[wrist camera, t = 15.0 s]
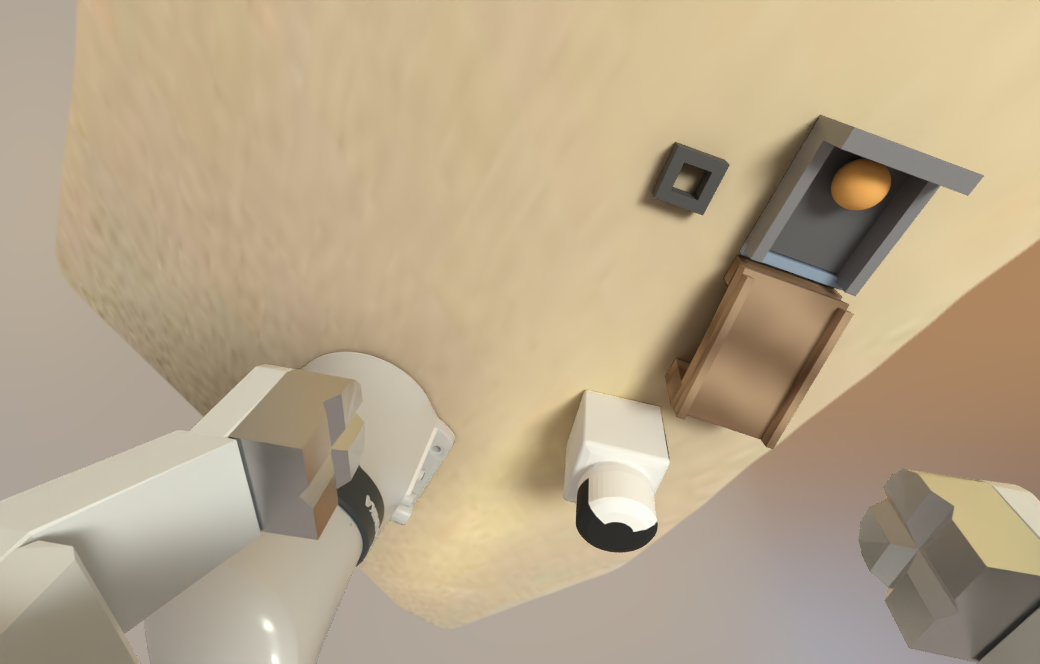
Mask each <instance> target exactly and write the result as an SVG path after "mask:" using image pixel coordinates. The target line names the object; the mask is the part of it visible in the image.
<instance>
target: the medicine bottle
mask: <svg viewBox="0 0 1040 664" xmlns="http://www.w3.org/2000/svg"><path fill="white" fill-rule="evenodd" d="M669 464H670V459H669V453H668V447H667V441H666V435H665V430H664V424H663V418H662V412H661V409H660V407H659V406H655V405H651V404H647V403H642V402H638V401H634V400H629V399H625V398H621V397H617V396H612V395H608V394H604V393H599V392H595V391H591V390H585V391H584V393H583V396H582V399H581V402H580V406H579V409H578V412H577V415H576V418H575V421H574V424H573V427H572V430H571V433H570V436H569V439H568V442H567V450H566V464H565V478H564V492H563V498H564V499H565V500H566V501H570V502H574V503H577V507H576V527H577V530H578V532H579V533H580V535H581V536H582V537H583V538H584V539H585V540H586V541H587V542H588V543H590V544H591V545H593V546H594V547H596V548H599V549H601V550H605V551H609V552H629V551H634V550H637V549H639V548H641V547H643V546H645V545H646V544H647V543H648V542H649V541H650V540H651V539H652V538H653V537H654V536H655V534H656V532H657V526H658V524H657V516H656V508H655V500H654V495H655V493H656V491H657V489H658V486H659V484H660V482H661V480H662V478H663V476H664V474H665V472H666V470H667V468H668V466H669Z"/></svg>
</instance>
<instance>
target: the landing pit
mask: <svg viewBox="0 0 1040 664" xmlns="http://www.w3.org/2000/svg"><path fill="white" fill-rule="evenodd" d="M864 158H867V159H870V160H873V161H875V162H878V163H881V164H884V165H885V166H886V167H887V169H888V170H889V172H890V175H891V185H890V189H889V191H888V193H887V195H886V196H885V197H884V198H883V199H882V200H881V201H880V202H879V203H878V204H876V205H875V206H873V207H871V208H868V209H864V210H848V209H845V208H843V207H841V206H840V205H838V204H837V203H836V202H835V200H834V199H833V197H832V193H831V184H832V180H833V178H834V176H835V174H836V173H837V172H838V171H839V169H840V168H842V167H843V166H844V165H846V164H847V163H849V162H851V161H854V160H857V159H864ZM983 177H984V175H981V174H978V173H976V172H973V171H970V170H968V169H965V168H962V167H960V166H957V165H954V164H951V163H949V162H946V161H943V160H941V159H938V158H935V157H933V156H930V155H927V154H925V153H922V152H919V151H917V150H914V149H911V148H908V147H906V146H903V145H900V144H898V143H895V142H892V141H890V140H887V139H884V138H882V137H879V136H876V135H874V134H871V133H868V132H865V131H863V130H860V129H857V128H855V127H852V126H849V125H847V124H844V123H841V122H838V121H836V120H833V119H830V118H828V117H825V116H822V115H820V116H819V118H818V120H817V121H816V123H815V125H814V126H813V128H812V130H811V132H810V133H809V135H808V137H807V138H806V140H805V142H804V143H803V145H802V147H801V148H800V150H799V152H798V153H797V155H796V157H795V158H794V160H793V162H792V164H791V165H790V167H789V169H788V170H787V172H786V174H785V175H784V177H783V179H782V180H781V182H780V184H779V185H778V187H777V189H776V190H775V192H774V194H773V196H772V197H771V199H770V201H769V202H768V204H767V206H766V207H765V209H764V211H763V212H762V214H761V216H760V217H759V219H758V221H757V222H756V224H755V226H754V228H753V229H752V231H751V233H750V234H749V236H748V238H747V239H746V241H745V243H744V244H743V246H742V248H741V249H740V251H739V252H740V253H741V255H743V256H746V257H749V258H750V259H752V260H755V261H758V262H763V263H766V264H769V265H772V266H774V267H777V268H780V269H783V270H786V271H789V272H791V273H794V274H797V275H800V276H803V277H805V278H808V279H811V280H814V281H817V282H820V283H822V284H825V285H828V286H831V287H834V288H836V289H839V290H843V291H844V292H845V293H848V294H851V295H854V296H856V295H857V293H858V292H859V291H860V290H861V288H862V287H863V286H864V284H865V283H866V282H867V280H868V279H869V278H870V277H871V275H872V274H873V273H874V271H875V270H876V269H877V267H878V266H879V265H880V264H881V262H882V261H883V260H884V258H885V257H886V256H887V254H888V253H889V252H890V251H891V249H892V248H893V247H894V245H895V244H896V243H897V242H898V240H899V239H900V238H901V236H902V235H903V234H904V232H905V231H906V230H907V229H908V227H909V226H910V225H911V223H912V222H913V221H914V219H915V218H916V217H917V216H918V214H919V213H920V212H921V210H922V209H923V208H924V206H925V205H926V204H927V203H928V201H929V200H930V199H931V197H932V196H933V195H934V193H935V192H936V191H937V190H938V188H939V187H940V186H943V187H946V188H949V189H951V190H954V191H957V192H959V193H962V194H965V195H967V196H968V195H969V194H970V193H971V191H972V190H973V189H974V188H975V187H976V185H977V184H978V183H979V182H980V180H981V179H982V178H983ZM770 250H771V251H770ZM773 251H774V252H773ZM775 252H776V253H775ZM778 253H779V254H778ZM781 254H782V255H781ZM784 255H785V256H784ZM787 256H788V257H787ZM789 257H791V258H789ZM792 258H793V259H792ZM795 259H796V260H795ZM798 260H799V261H798ZM801 261H802V262H801ZM803 262H805V263H803ZM806 263H807V264H806ZM809 264H810V265H809ZM812 265H813V266H812ZM815 266H816V267H815ZM817 267H819V268H817ZM820 268H821V269H820ZM823 269H824V270H823ZM826 270H827V271H826ZM829 271H830V272H829ZM832 272H833V273H832ZM834 273H835V274H834Z"/></svg>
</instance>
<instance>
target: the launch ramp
mask: <svg viewBox="0 0 1040 664" xmlns="http://www.w3.org/2000/svg"><path fill="white" fill-rule="evenodd" d="M724 279H725V281H726V283H727V285H729V287H728V289H727V291H726V293H725V295H724V297H723V299H722V301H721V303H720V305H719V307H718V309H717V311H716V313H715V315H714V317H713V319H712V321H711V323H710V325H709V327H708V329H707V331H706V333H705V335H704V337H703V339H702V341H701V343H700V345H699V347H698V349H697V351H696V353H695V355H694V357H693V359H692V361H691V363H688V362H685V361H682V360H679V359H675V361H674V362H673V364H672V366H671V367H670V369H669V371H668V372H667V374H666V376H665V377H666V382H667V387H668V392H669V397H670V402H671V405H672V407H673V409H674V412H675V414H676V416H677V417H679V418H682V419H684V418H685V416H686V415H689V416H692V417H695V418H698V419H701V420H704V421H707V422H710V423H713V424H716V425H719V426H722V427H725V428H728V429H731V430H734V431H737V432H740V433H743V434H746V435H749V436H752V437H755V438H758V439H761V441H762V442H763V443H764V445H765V446H766V447H768V448H771V449H773V448H774V447H775V445H776V443H777V442H778V440H779V438H780V437H781V435H782V433H783V432H784V430H785V428H786V427H787V425H788V423H789V422H790V420H791V418H792V417H793V415H794V413H795V412H796V410H797V408H798V407H799V405H800V403H801V401H802V400H803V398H804V396H805V395H806V393H807V391H808V390H809V388H810V386H811V385H812V383H813V381H814V380H815V378H816V376H817V375H818V373H819V371H820V370H821V368H822V366H823V365H824V363H825V361H826V360H827V358H828V356H829V355H830V353H831V351H832V350H833V348H834V346H835V345H836V343H837V341H838V340H839V338H840V336H841V335H842V333H843V331H844V330H845V328H846V326H847V325H848V323H849V321H850V320H851V318H852V316H853V315H854V314H852V313H851V312H849V311H847V310H846V309H847V308H848V306H849V304H847V303H845V302H843V301H841V298H842V296H841V295H840V294H839V293H838V292H837V291H836V290H835V289H832V288H829V287H826V286H824V285H821V284H818V283H815V282H812V281H810V280H807V279H804V278H801V277H798V276H795V275H793V274H790V273H787V272H784V271H781V270H778V269H776V268H773V267H770V266H767V265H764V264H762V263H759V262H756V261H753V260H750V259H747V258H745V257H742V256H739V255H737V256H736V258H735V260H734V261H733V263H732V265H731V266H730V268H729V270H728V271H727V273H726V275H725V276H724Z"/></svg>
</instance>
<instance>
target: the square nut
mask: <svg viewBox="0 0 1040 664" xmlns="http://www.w3.org/2000/svg"><path fill="white" fill-rule="evenodd" d="M684 162H685V163H687V164H690V165H693V166H696V167H699V168H701V169H704V170H706V172H705V174H704V176H703V178H702V180H701V182H700V184H699V186H698V188H697V190H696V192H695V194H691V193H688V192H685V191H683V190H680V189H677V188H674V187H673V185H674V183H675V181H676V179H677V177H678V174H679V172H680V170H681V168H682V166H683V164H684ZM728 167H729V164H728V163H727V162H726V161H725V160H724V159H721V158H718V157H715V156H713V155H710V154H707V153H704V152H702V151H699V150H696V149H693V148H691V147H688V146H685V145H682V144H680V143H677V142H675V144H674V146H673V149H672V151H671V153H670V155H669V157H668V160H667V162H666V164H665V166H664V168H663V170H662V173H661V175H660V177H659V179H658V181H657V183H656V186H655V188H654V190H653V195H654V198H656V199H659V200H662V201H664V202H667V203H670V204H673V205H676V206H678V207H681V208H684V209H687V210H690V211H692V212H695V213H698V214H701V215H703V214H704V212H705V211H706V209H707V207H708V205H709V203H710V201H711V199H712V197H713V195H714V194H715V192H716V190H717V188H718V186H719V184H720V182H721V180H722V178H723V176H724V175H725V173H726V171H727V169H728Z"/></svg>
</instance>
